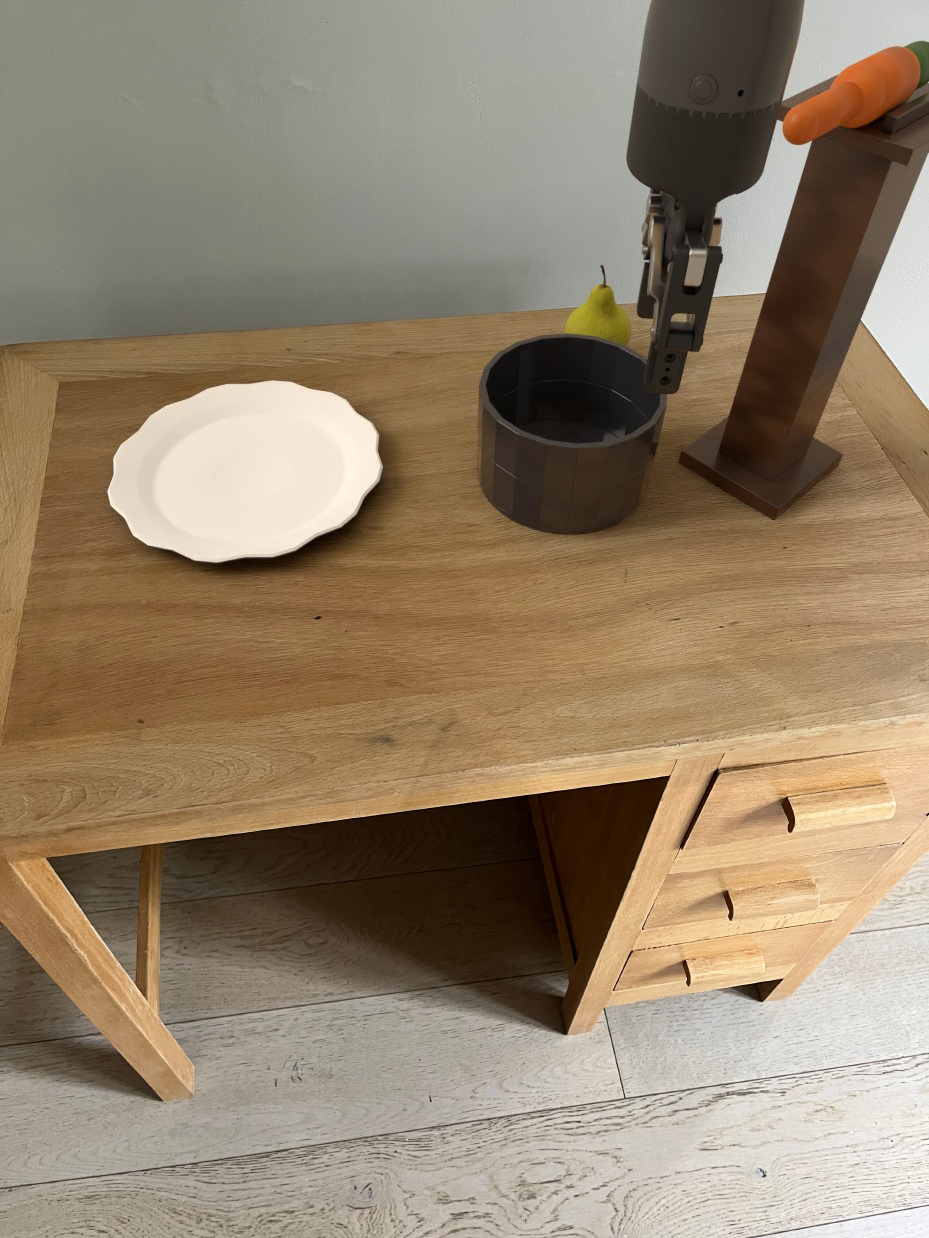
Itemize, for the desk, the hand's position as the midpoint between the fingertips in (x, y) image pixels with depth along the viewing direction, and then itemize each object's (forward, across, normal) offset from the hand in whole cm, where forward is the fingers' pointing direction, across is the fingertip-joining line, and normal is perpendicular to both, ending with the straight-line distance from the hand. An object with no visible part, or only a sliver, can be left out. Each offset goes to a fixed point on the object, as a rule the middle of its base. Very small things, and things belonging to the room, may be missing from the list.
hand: (655, 351), depth 57 cm
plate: (+22, +10, +34) cm, 42 cm away
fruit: (+22, +31, +1) cm, 38 cm away
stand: (+22, +16, -15) cm, 31 cm away
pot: (+22, +13, +4) cm, 26 cm away
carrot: (-10, +12, -12) cm, 19 cm away
